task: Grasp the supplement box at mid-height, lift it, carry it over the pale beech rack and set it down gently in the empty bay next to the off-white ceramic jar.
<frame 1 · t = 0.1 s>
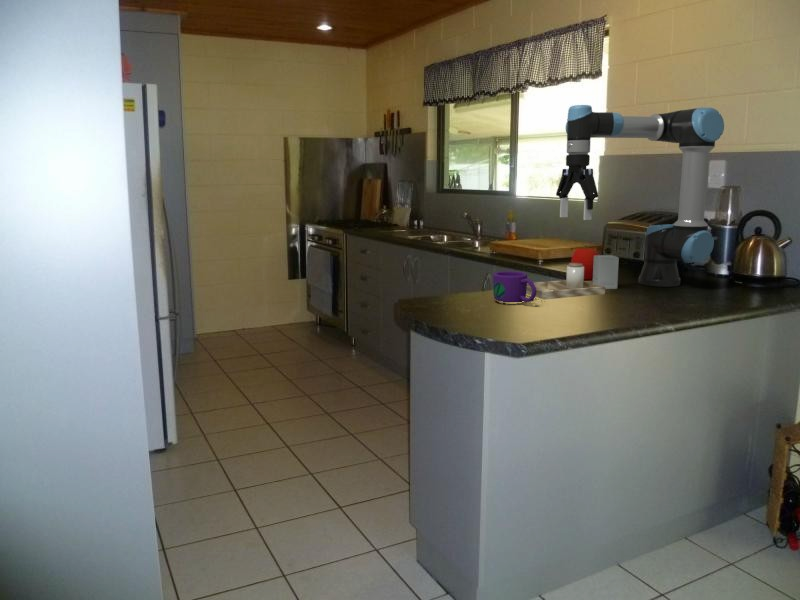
hand: (575, 218, 217), 28 cm above the worktop, fingers open, 13 cm apart
rack: (560, 295, 231), on the worktop
supplement box: (604, 290, 241), on the worktop
tomato: (584, 281, 260), on the worktop
mug: (516, 304, 218), on the worktop
ceramic jar: (574, 291, 233), point 1 cm above the worktop, touching rack
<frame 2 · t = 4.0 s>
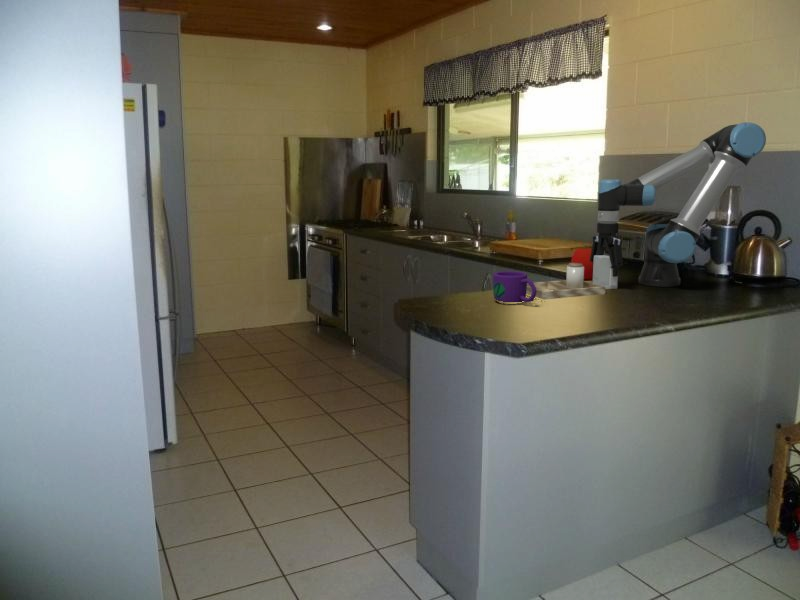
hand: (604, 283, 240), 2 cm above the worktop, fingers closed on supplement box, 9 cm apart
supplement box: (604, 290, 241), on the worktop, touching gripper
everything else where it was.
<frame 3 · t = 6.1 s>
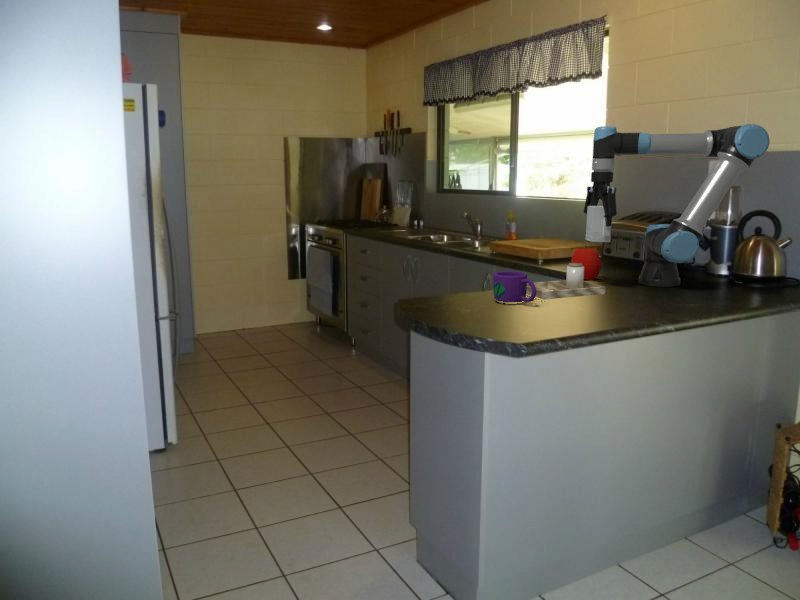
hand: (598, 234, 235), 21 cm above the worktop, fingers closed on supplement box, 9 cm apart
supplement box: (597, 241, 236), point 18 cm above the worktop, touching gripper
everything else where it was.
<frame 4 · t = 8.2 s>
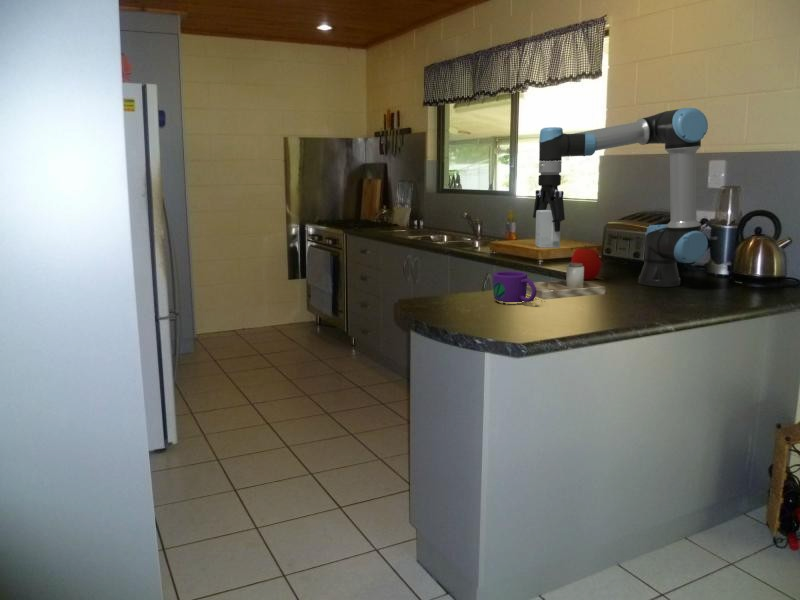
hand: (547, 239, 225), 20 cm above the worktop, fingers closed on supplement box, 9 cm apart
supplement box: (547, 247, 226), point 18 cm above the worktop, touching gripper
everything else where it was.
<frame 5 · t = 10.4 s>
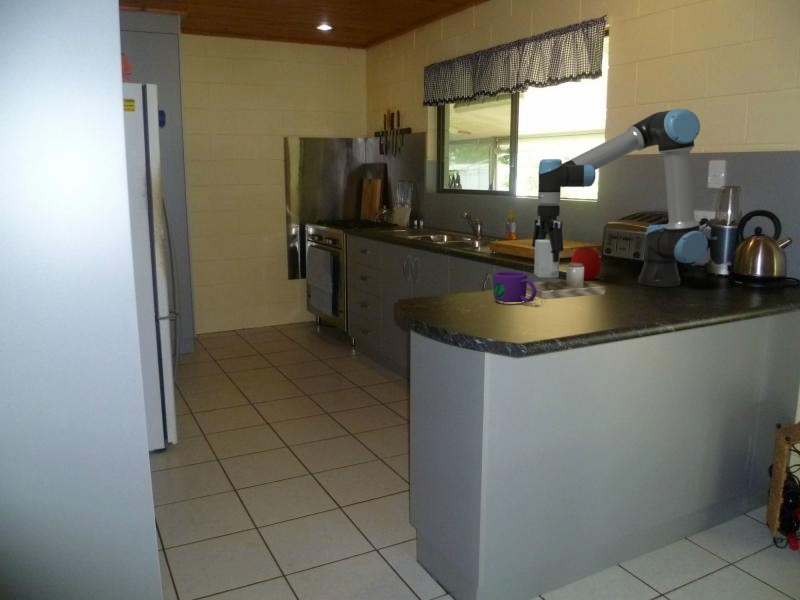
hand: (546, 269, 227), 10 cm above the worktop, fingers closed on supplement box, 9 cm apart
supplement box: (546, 276, 228), point 7 cm above the worktop, touching gripper
everything else where it was.
when the fingers open (5 cm above the worktop, at t = 12.5 s): supplement box drops 2 cm, resting on rack.
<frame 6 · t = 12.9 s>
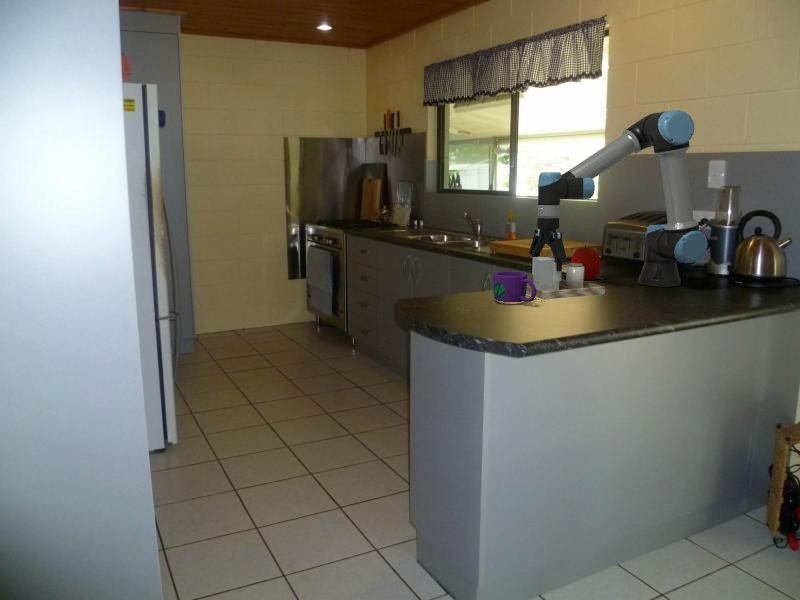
hand: (546, 277, 228), 7 cm above the worktop, fingers open, 13 cm apart
supplement box: (545, 293, 230), point 1 cm above the worktop, touching rack
everything else where it was.
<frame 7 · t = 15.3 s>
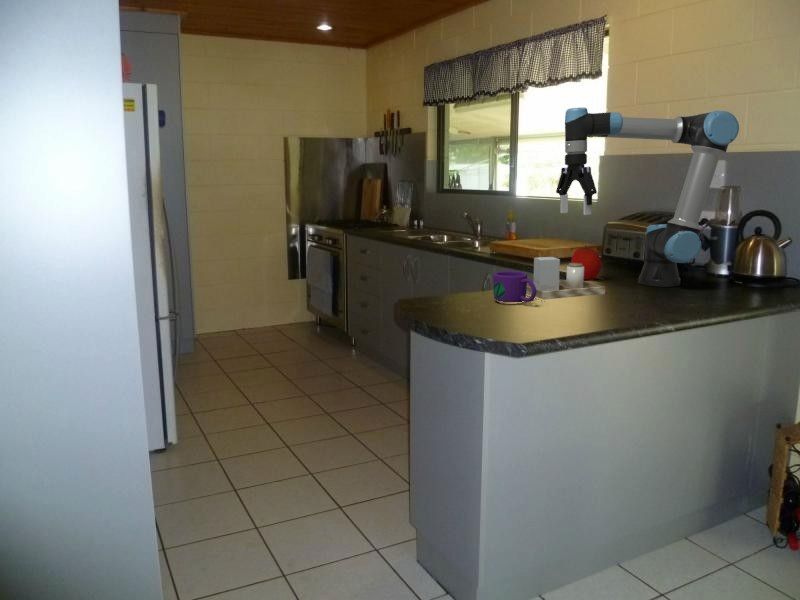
hand: (575, 213, 232), 28 cm above the worktop, fingers open, 13 cm apart
nothing on the worktop moved.
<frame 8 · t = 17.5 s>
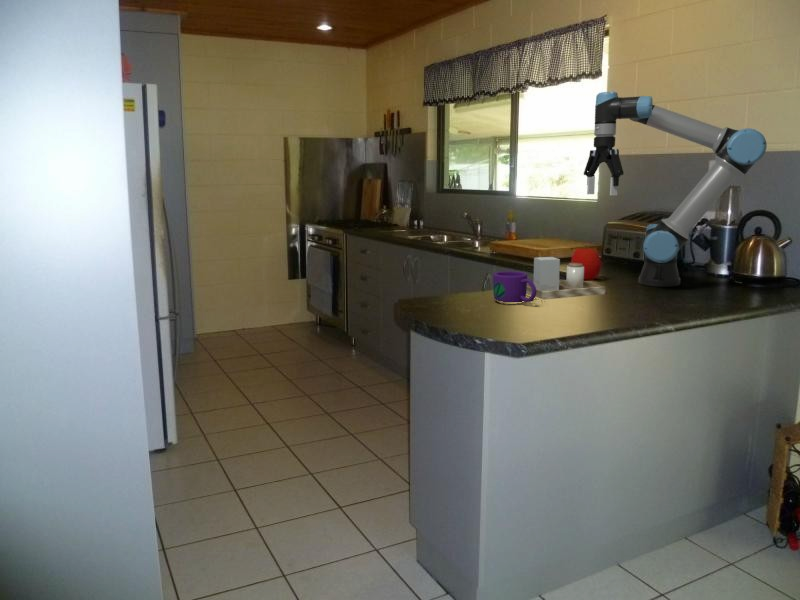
hand: (601, 194, 241), 35 cm above the worktop, fingers open, 13 cm apart
nothing on the worktop moved.
at the end: supplement box inside the target area on the rack (0.4 cm from its centre), point 0.8 cm above the rack's base; supplement box tilted 0°; the gripper is holding nothing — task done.
